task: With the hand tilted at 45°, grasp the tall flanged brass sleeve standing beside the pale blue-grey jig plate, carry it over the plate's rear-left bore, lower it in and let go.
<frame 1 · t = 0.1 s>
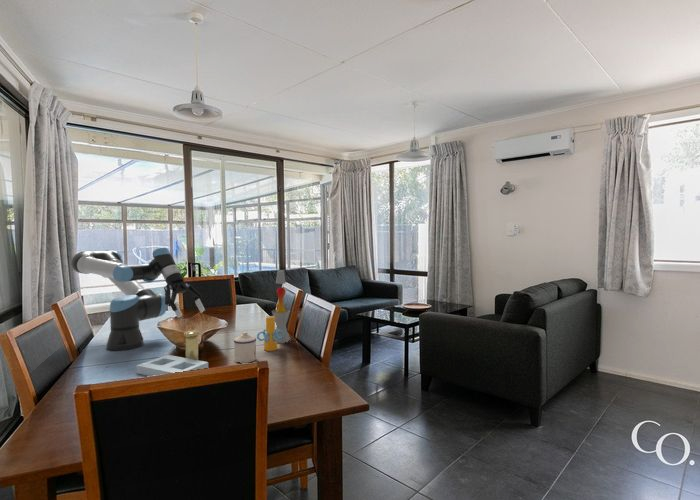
hand: (191, 313, 180), 15 cm above the table, tool tilted 35°, fingers open, 13 cm apart
brass sleeve: (192, 361, 158), on the table
teacup with lid: (244, 359, 161), on the table
lava lamp: (281, 341, 189), on the table
jig plate: (173, 371, 146), on the table
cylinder: (270, 349, 175), on the table
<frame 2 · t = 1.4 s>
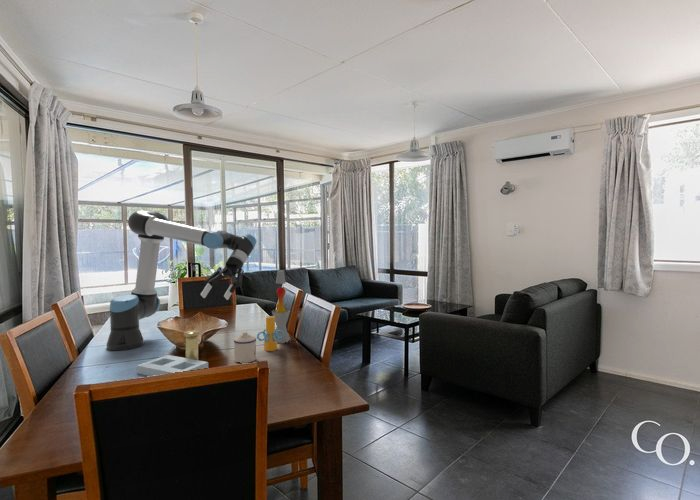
hand: (213, 297, 169), 25 cm above the table, tool tilted 45°, fingers open, 13 cm apart
nothing on the table moved.
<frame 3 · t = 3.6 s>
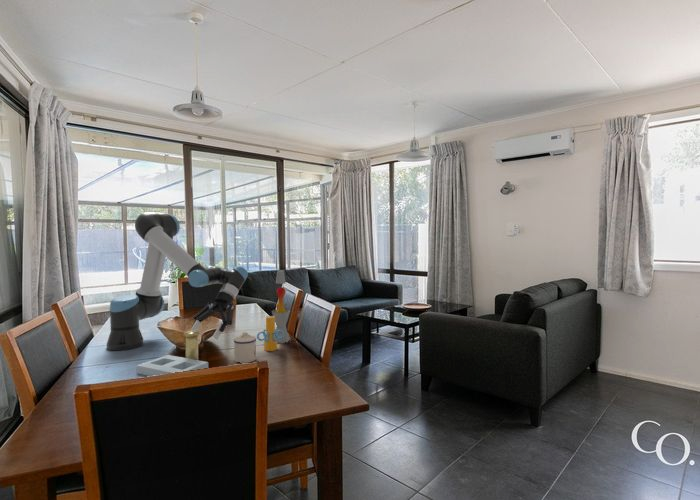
hand: (202, 336, 162), 9 cm above the table, tool tilted 45°, fingers open, 13 cm apart
nothing on the table moved.
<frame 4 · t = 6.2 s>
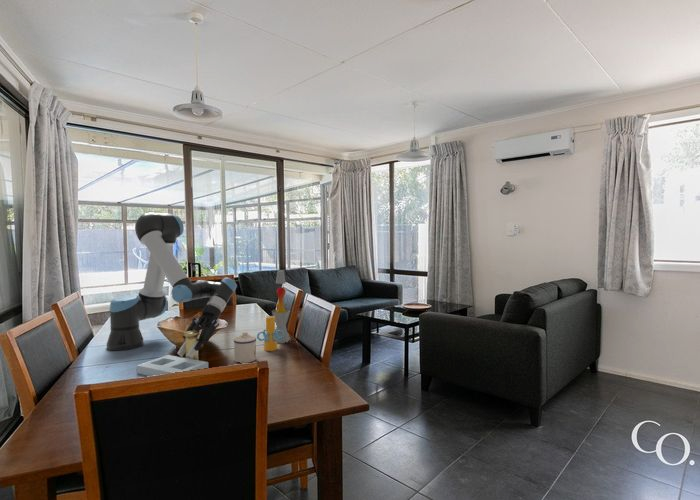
hand: (184, 355, 155), 3 cm above the table, tool tilted 45°, fingers closed on brass sleeve, 5 cm apart
brass sleeve: (192, 361, 158), on the table, touching gripper
everything else where it was.
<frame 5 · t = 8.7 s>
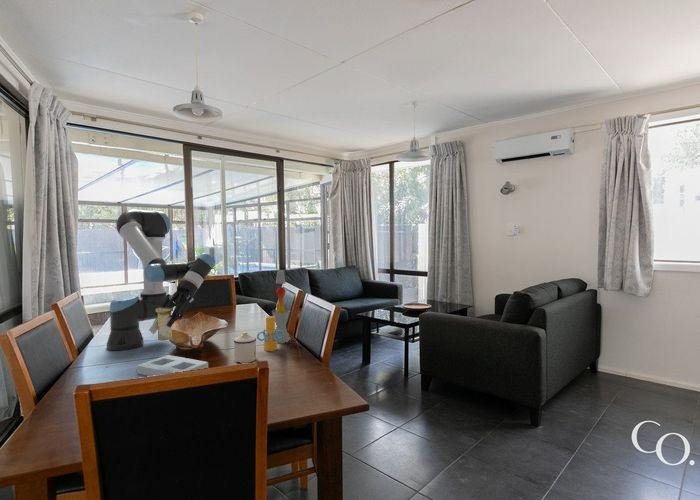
hand: (156, 332, 145), 15 cm above the table, tool tilted 45°, fingers closed on brass sleeve, 5 cm apart
brass sleeve: (165, 338, 149), point 12 cm above the table, touching gripper
everything else where it was.
when the fingers open (5 cm above the table, at t = 11.6 s): brass sleeve drops 1 cm, resting in jig plate.
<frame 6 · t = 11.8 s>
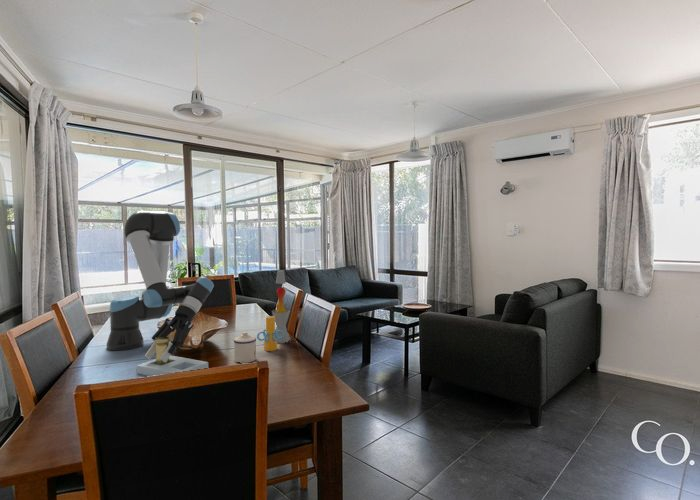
hand: (155, 359, 145), 5 cm above the table, tool tilted 45°, fingers open, 8 cm apart
brass sleeve: (163, 369, 148), resting in jig plate
everything else where it was.
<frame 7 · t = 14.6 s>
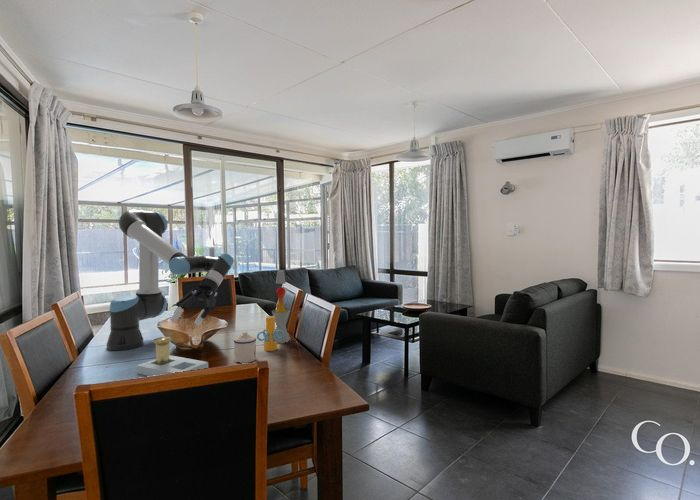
hand: (184, 322, 158), 16 cm above the table, tool tilted 45°, fingers open, 13 cm apart
nothing on the table moved.
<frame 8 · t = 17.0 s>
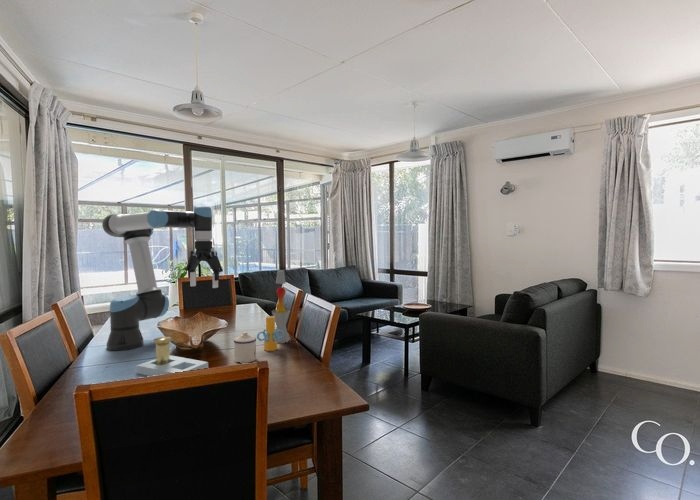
hand: (204, 287, 174), 29 cm above the table, tool pointing down, fingers open, 13 cm apart
nothing on the table moved.
at the end: brass sleeve 0.0 cm from the target spot on the jig plate, point 0.0 cm above the jig plate's base; brass sleeve tilted 0°; the gripper is holding nothing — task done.
